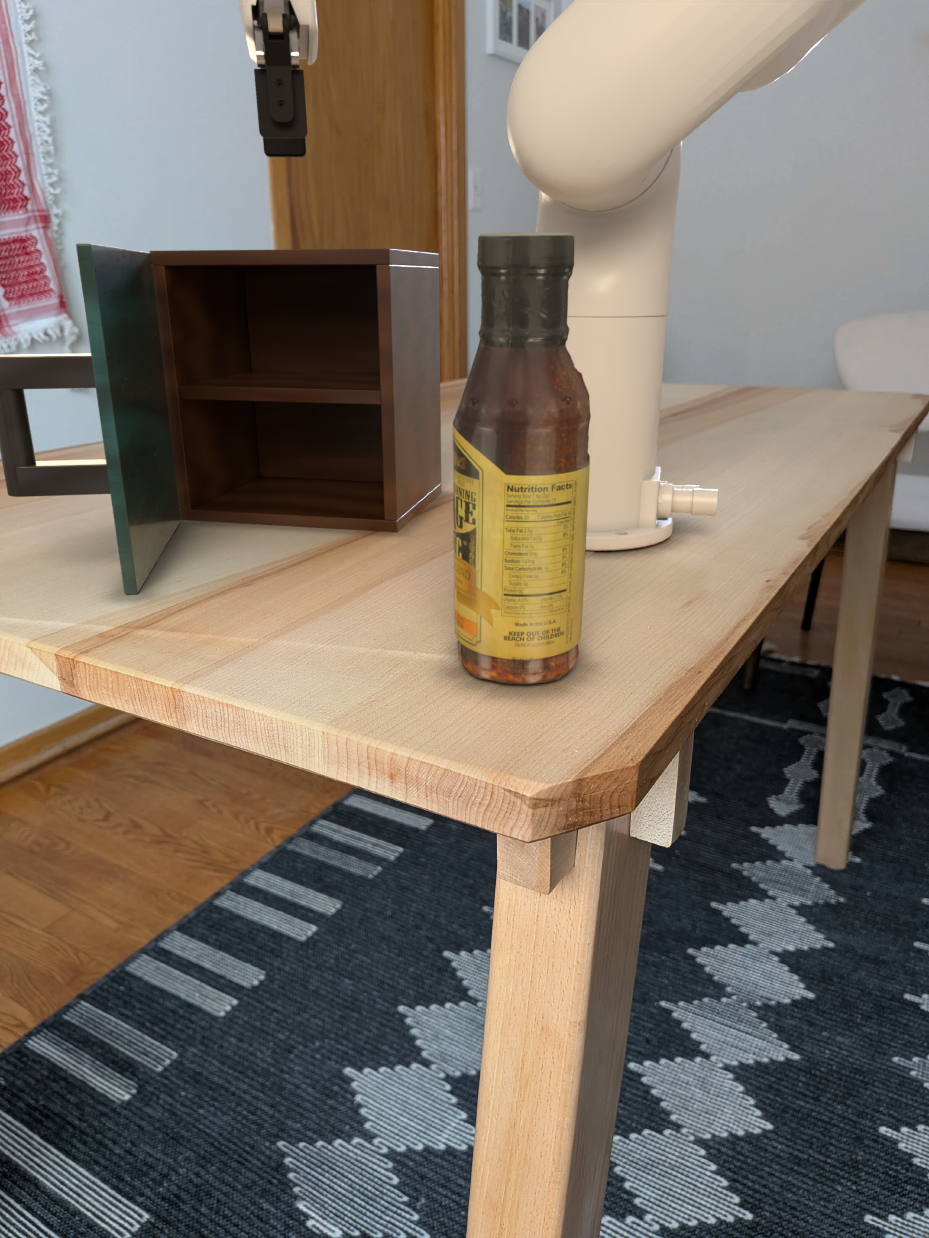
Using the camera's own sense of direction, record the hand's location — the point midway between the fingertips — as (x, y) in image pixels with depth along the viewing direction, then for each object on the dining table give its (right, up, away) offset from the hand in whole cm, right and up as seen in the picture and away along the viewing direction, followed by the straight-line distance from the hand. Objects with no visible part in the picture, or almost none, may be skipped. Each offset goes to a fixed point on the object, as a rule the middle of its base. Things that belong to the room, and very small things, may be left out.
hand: (284, 147), depth 66 cm
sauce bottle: (+16, -37, -21) cm, 45 cm away
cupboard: (+1, -25, +11) cm, 27 cm away
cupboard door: (-12, -30, -3) cm, 32 cm away
